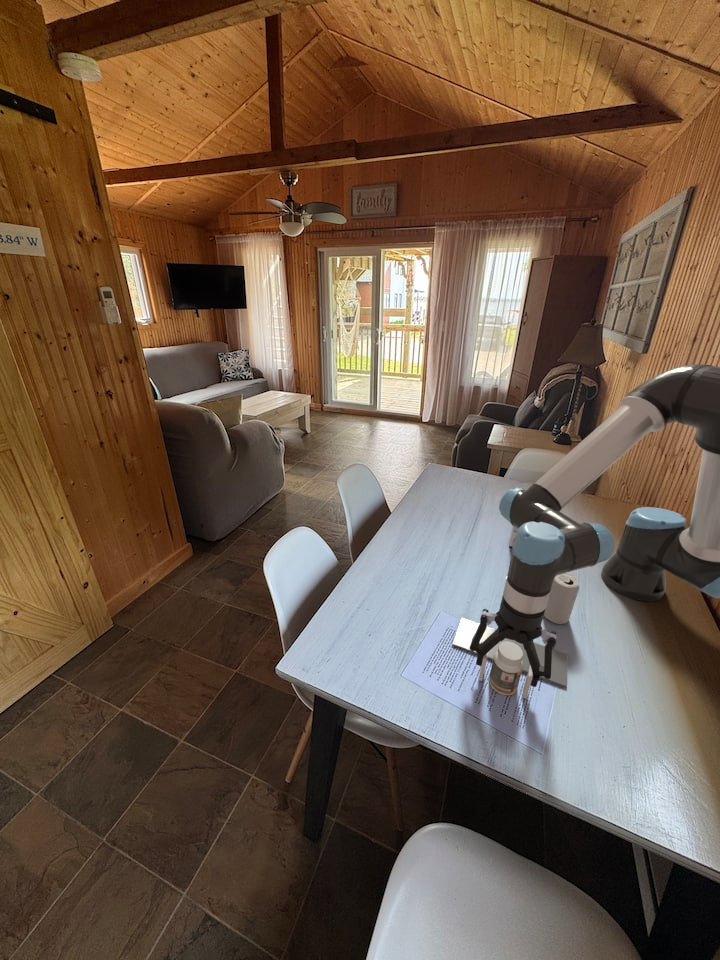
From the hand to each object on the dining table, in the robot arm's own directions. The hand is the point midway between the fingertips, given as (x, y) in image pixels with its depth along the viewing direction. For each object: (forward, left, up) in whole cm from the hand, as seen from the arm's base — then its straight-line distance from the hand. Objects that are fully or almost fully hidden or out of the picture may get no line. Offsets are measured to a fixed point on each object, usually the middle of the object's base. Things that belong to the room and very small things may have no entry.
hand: (502, 683), depth 82 cm
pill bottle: (0, 0, 0) cm, 1 cm away
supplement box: (+3, -55, 0) cm, 55 cm away
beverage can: (-9, -26, 0) cm, 28 cm away
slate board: (0, -10, 0) cm, 10 cm away
